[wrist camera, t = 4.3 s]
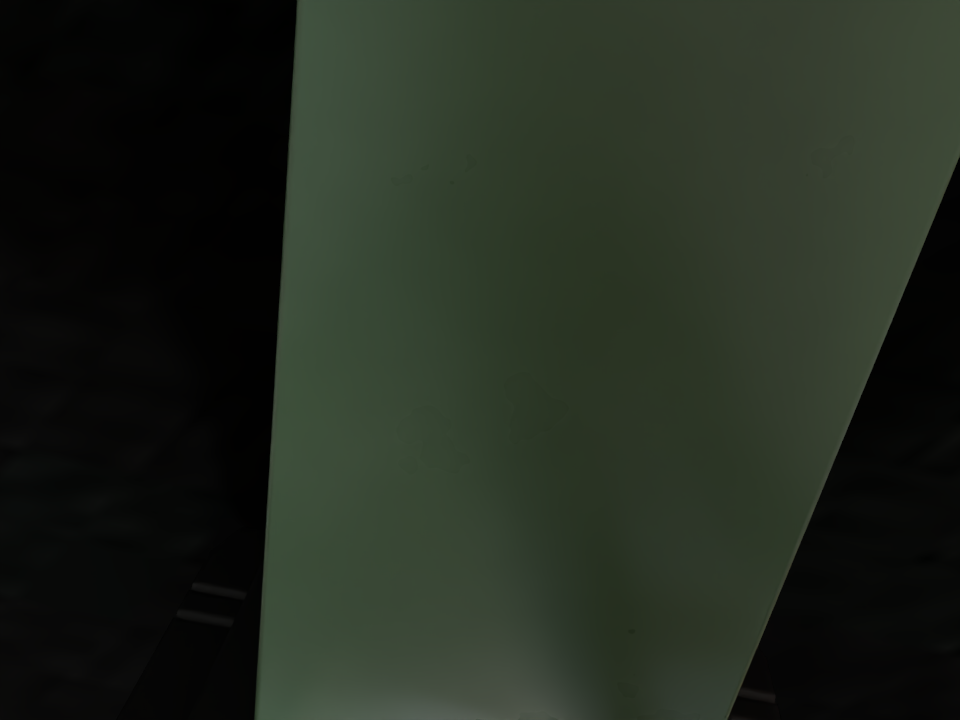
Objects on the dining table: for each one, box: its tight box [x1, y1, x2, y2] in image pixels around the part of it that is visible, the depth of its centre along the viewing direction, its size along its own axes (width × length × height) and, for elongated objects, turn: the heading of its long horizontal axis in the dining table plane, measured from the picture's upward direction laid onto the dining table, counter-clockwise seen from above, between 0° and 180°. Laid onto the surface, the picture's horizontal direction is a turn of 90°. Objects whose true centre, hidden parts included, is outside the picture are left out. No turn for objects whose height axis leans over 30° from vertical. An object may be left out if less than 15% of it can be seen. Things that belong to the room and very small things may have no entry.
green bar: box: [254, 0, 960, 720], centre depth 10 cm, size 4×18×4 cm, turn 171°
